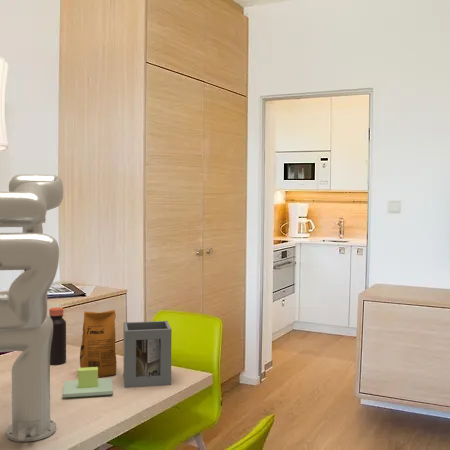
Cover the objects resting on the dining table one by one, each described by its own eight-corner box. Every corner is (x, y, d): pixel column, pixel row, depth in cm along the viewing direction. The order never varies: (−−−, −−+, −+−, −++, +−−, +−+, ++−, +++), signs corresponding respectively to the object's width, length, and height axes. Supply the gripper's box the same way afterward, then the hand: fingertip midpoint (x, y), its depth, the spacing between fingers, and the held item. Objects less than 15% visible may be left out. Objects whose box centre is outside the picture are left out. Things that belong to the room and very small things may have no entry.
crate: (171, 384, 185) (171, 329, 184) (124, 387, 182) (125, 331, 181) (166, 372, 197) (167, 320, 196) (123, 375, 194) (123, 322, 192)
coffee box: (162, 380, 188) (163, 333, 187) (147, 385, 184) (147, 337, 183) (146, 374, 195) (146, 328, 194) (130, 378, 190) (131, 331, 189)
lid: (112, 397, 174) (112, 373, 174) (62, 400, 171) (62, 376, 170) (111, 384, 186) (111, 361, 185) (64, 387, 183) (64, 364, 182)
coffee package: (80, 369, 199) (79, 308, 198) (115, 367, 202) (115, 307, 201) (79, 379, 189) (79, 314, 188) (117, 376, 192) (117, 313, 191)
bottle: (47, 360, 209) (46, 307, 208) (65, 359, 211) (65, 306, 210) (46, 365, 203) (46, 311, 202) (66, 364, 205) (66, 310, 204)
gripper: (42, 219, 158) (42, 279, 159) (48, 216, 175) (48, 271, 176) (14, 219, 156) (14, 280, 157) (22, 216, 173) (23, 271, 174)
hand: (32, 275), depth 167 cm, fingers open, 9 cm apart
